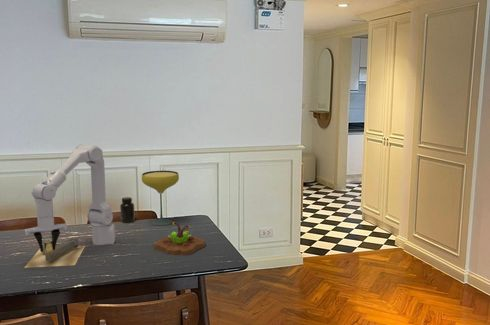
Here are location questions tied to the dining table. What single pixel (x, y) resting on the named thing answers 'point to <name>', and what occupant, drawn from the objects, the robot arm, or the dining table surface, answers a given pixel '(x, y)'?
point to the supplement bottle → (127, 210)
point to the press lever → (59, 248)
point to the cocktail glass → (160, 187)
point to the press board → (56, 259)
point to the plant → (179, 243)
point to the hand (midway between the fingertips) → (47, 250)
